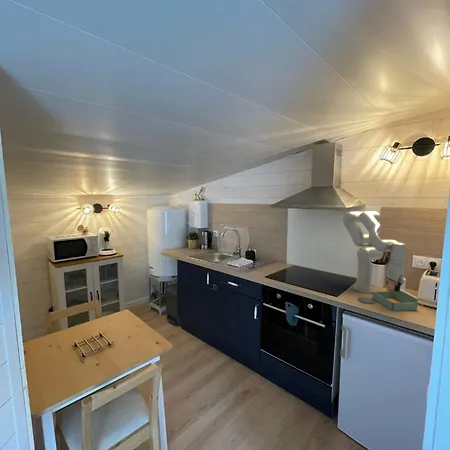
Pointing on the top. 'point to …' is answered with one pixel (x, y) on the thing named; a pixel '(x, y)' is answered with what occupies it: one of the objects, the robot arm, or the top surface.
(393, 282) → the pot
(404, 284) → the mug
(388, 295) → the tray
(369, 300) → the slate pad
